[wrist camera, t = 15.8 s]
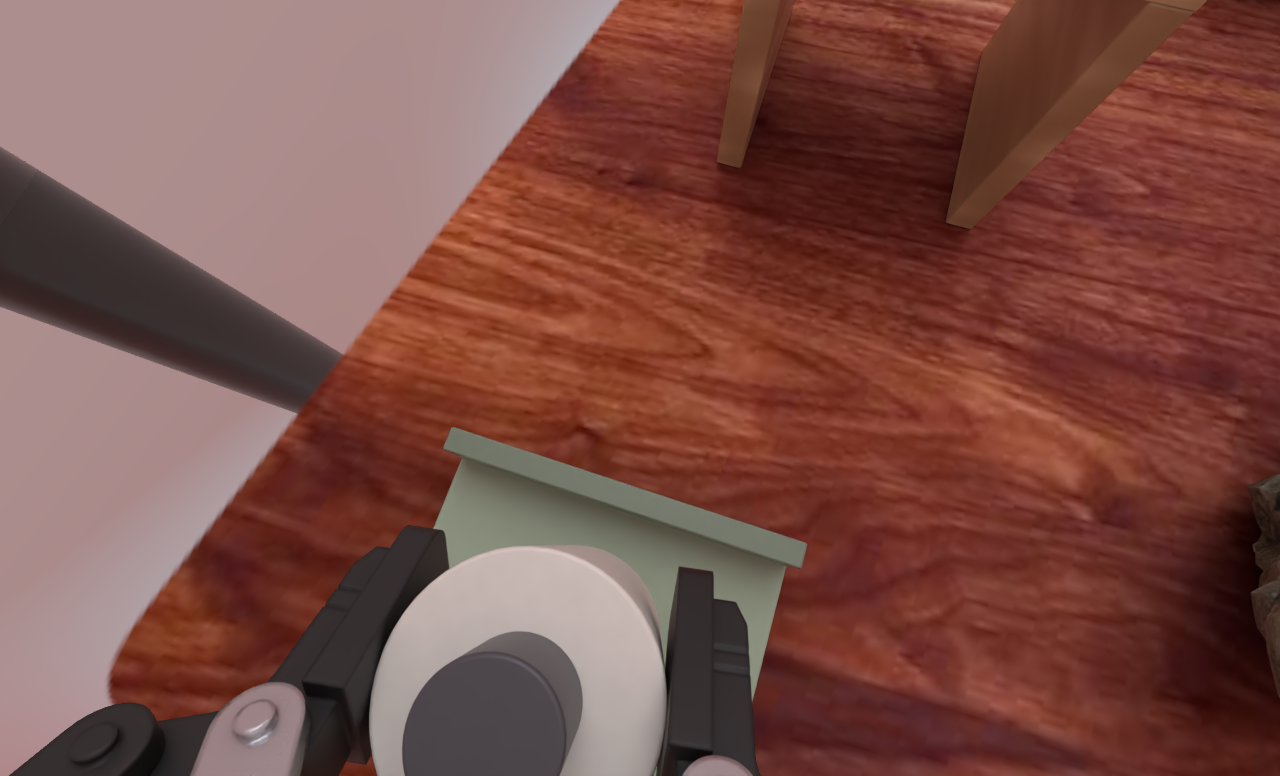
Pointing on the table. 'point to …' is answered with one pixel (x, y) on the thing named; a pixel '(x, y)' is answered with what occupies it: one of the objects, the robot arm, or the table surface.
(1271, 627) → the stone
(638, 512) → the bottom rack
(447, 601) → the bottle
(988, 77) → the wooden stool
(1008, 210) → the table surface
